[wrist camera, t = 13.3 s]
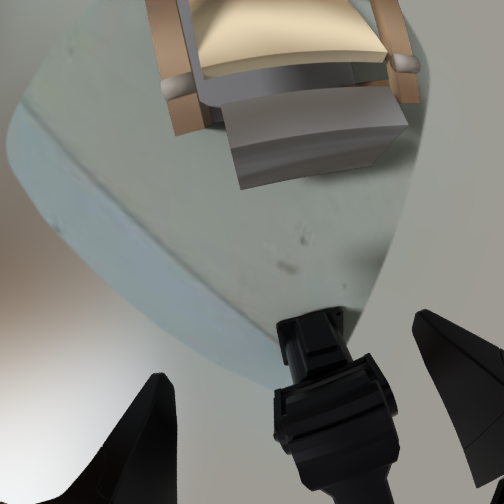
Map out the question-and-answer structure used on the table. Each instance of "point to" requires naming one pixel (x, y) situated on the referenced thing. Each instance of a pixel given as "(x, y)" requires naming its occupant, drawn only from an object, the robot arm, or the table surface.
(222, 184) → the table surface
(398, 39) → the frame
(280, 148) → the trapdoor
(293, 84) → the mat
